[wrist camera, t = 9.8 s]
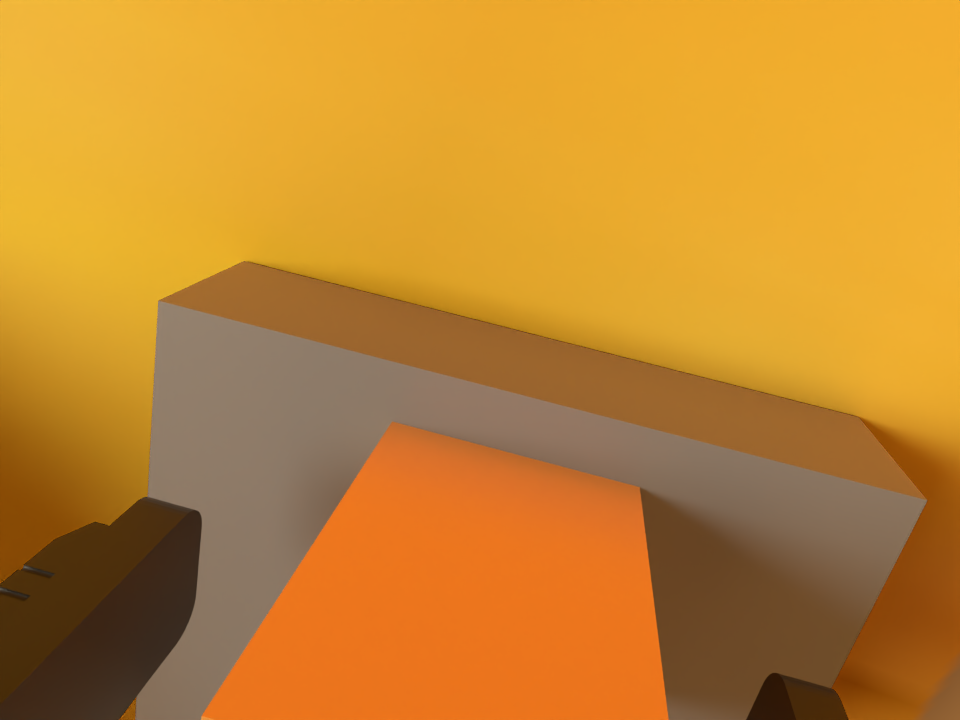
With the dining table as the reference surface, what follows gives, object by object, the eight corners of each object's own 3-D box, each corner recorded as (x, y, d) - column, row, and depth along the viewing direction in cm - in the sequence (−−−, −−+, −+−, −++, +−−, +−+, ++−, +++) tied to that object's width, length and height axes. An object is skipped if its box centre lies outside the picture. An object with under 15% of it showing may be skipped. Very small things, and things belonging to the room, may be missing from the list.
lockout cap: (573, 683, 13) (558, 1140, 7) (353, 621, 13) (169, 1013, 7) (639, 487, 11) (685, 861, 6) (392, 421, 12) (202, 715, 6)
